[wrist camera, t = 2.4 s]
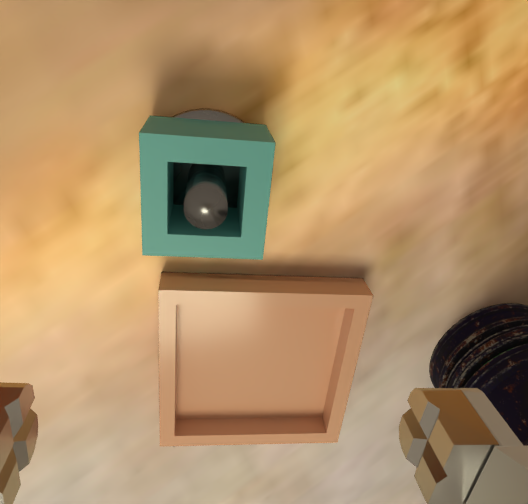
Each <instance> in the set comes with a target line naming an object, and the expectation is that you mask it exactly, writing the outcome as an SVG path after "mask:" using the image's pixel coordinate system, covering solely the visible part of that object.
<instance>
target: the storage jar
mask: <svg viewBox="0 0 528 504" xmlns="http://www.w3.org/2000/svg"><path fill="white" fill-rule="evenodd" d="M429 373H430V378H431V381H432V383H433V385H434V387H435V388H454V389H456V388H478V389H479V390H481V391H482V392H483V393H484V394H485V395H486V397H487V398H488V399H489V401H490V402H491V403H492V405H493V406H494V407H495V408H496V410H497V411H498V412H499V414H500V415H501V416H502V418H503V419H504V420H505V422H506V423H507V424H508V426H509V427H510V428H511V430H512V431H513V432H514V434H515V435H516V436H517V438H518V439H519V440H520V442H521V443H522V444H523V446H528V306H526V305H522V304H512V303H510V304H499V305H494V306H490V307H487V308H483V309H480V310H478V311H476V312H474V313H472V314H470V315H468V316H466V317H465V318H463V319H461V320H460V321H459V322H458V323H456V324H455V325H454V326H452V327H451V328H450V329H449V330H448V331H447V332H446V333H445V334H444V336H443V337H442V338H441V339H440V341H439V342H438V344H437V346H436V347H435V349H434V351H433V354H432V356H431V360H430V366H429Z"/></svg>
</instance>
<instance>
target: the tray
mask: <svg viewBox="0 0 528 504" xmlns="http://www.w3.org/2000/svg"><path fill="white" fill-rule="evenodd" d="M372 298H373V294H372V293H371V291H370V289H369V288H368V286H367V284H366V283H365V281H364V279H363V278H336V277H304V276H272V275H240V274H208V273H176V272H162V274H161V279H160V284H159V290H158V299H159V402H160V446H197V445H242V444H288V443H333V442H338V438H339V433H340V429H341V425H342V421H343V417H344V413H345V409H346V405H347V401H348V397H349V393H350V388H351V384H352V380H353V376H354V372H355V368H356V364H357V360H358V356H359V352H360V347H361V343H362V339H363V335H364V331H365V327H366V323H367V319H368V315H369V311H370V307H371V302H372Z"/></svg>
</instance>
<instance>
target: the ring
mask: <svg viewBox="0 0 528 504" xmlns="http://www.w3.org/2000/svg"><path fill="white" fill-rule="evenodd" d="M139 145H140V181H141V218H142V255H150V256H178V257H206V258H233V259H261V260H263V252H264V243H265V234H266V225H267V216H268V206H269V197H270V188H271V179H272V170H273V160H274V151H275V141H274V139H273V137H272V135H271V134H270V132H269V130H268V128H267V126H266V125H262V124H249V123H237V122H224V121H211V120H199V119H186V118H173V117H161V116H150V117H149V118H148V120H147V121H146V123H145V124H144V126H143V128H142V129H141V131H140V132H139ZM174 162H181V163H196V164H211V165H227V166H240V173H239V186H238V199H237V208H230V207H228V213H227V216H226V219H225V220H224V221H223V223H222V224H220V225H219V226H217V227H215V228H212V229H200V228H197V227H195V226H193V225H192V224H191V223H189V221H188V220H187V219H186V217H185V214H184V205H173V173H174Z"/></svg>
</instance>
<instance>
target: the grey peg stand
mask: <svg viewBox="0 0 528 504" xmlns="http://www.w3.org/2000/svg"><path fill="white" fill-rule="evenodd" d="M173 118H186V119H199V120H211V121H224V122H237V123H244V122H243V121H242V120H240V119H238V118H237V117H235V116H233V115H231V114H229V113H226V112H223V111H219V110H214V109H194V110H189V111H185V112H182V113H180V114H177V115H175V116H173ZM239 173H240V166H227V165H211V164H196V163H181V162H174V173H173V205H184V214H185V217H186V219H187V220H188V221H189V223H191V224H192V225H193V226H195V227H197V228H200V229H212V228H215V227H217V226H219V225H220V224H222V223H223V221H224V220H225V219H226V216H227V213H228V207H230V208H237V199H238V186H239Z"/></svg>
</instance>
